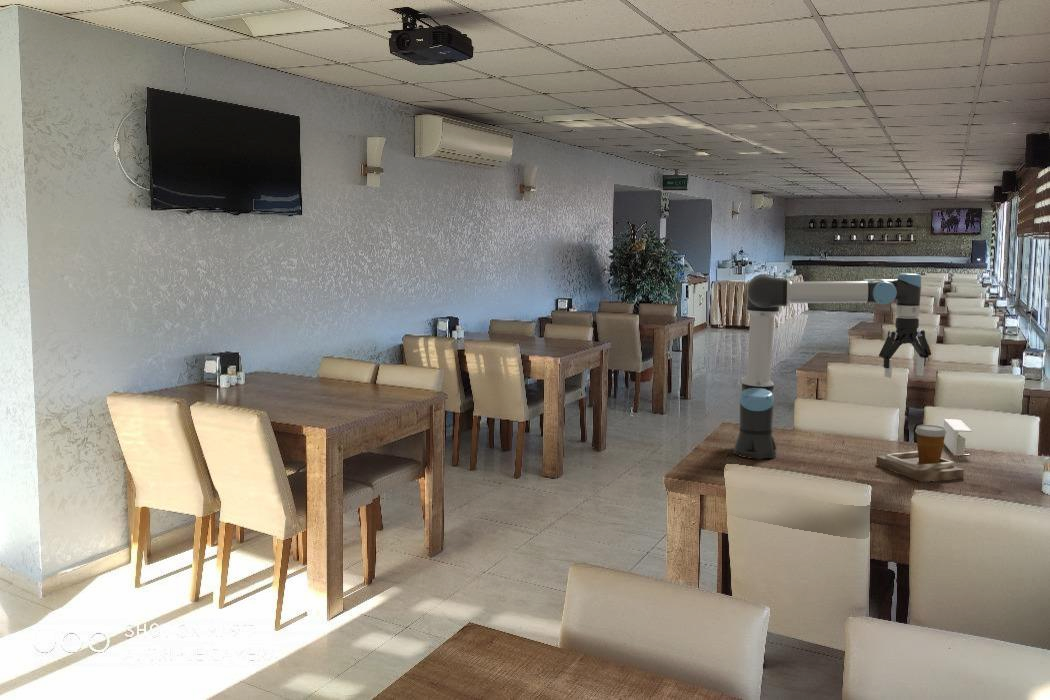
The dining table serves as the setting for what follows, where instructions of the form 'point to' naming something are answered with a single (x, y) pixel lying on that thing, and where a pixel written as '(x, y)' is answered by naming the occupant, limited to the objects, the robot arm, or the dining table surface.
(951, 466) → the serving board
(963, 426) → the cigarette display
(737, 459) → the dining table surface
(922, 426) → the disposable coffee cup
